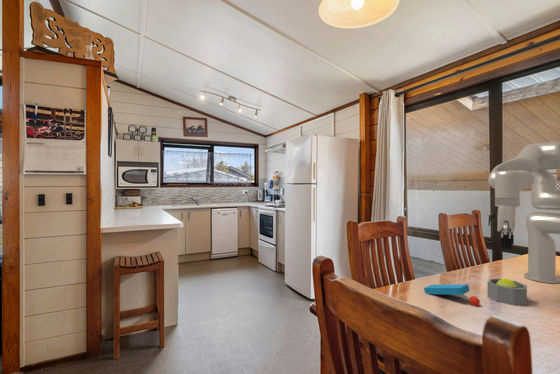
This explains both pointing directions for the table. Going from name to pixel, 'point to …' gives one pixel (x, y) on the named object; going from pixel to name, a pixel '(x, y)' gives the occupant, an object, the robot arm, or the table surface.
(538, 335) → the table surface
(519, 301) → the gray octagonal bowl
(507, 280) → the tennis ball
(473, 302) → the lever
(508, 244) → the robot arm
